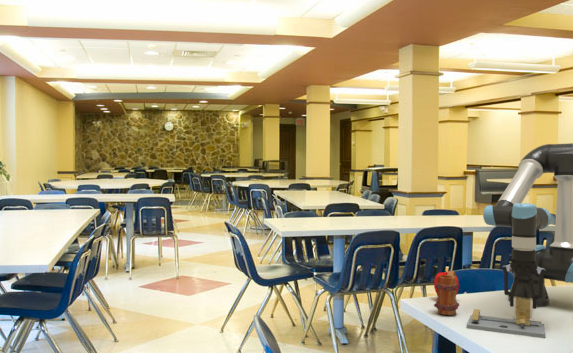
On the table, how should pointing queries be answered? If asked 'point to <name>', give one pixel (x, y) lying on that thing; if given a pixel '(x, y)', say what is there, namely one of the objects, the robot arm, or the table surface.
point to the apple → (437, 281)
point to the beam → (497, 318)
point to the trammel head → (523, 311)
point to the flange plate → (507, 327)
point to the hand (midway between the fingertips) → (522, 316)
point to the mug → (447, 294)
